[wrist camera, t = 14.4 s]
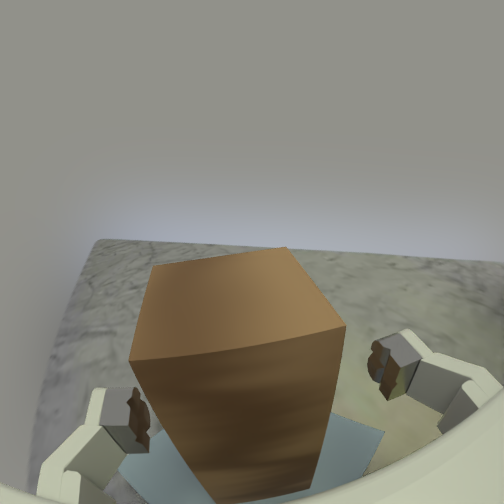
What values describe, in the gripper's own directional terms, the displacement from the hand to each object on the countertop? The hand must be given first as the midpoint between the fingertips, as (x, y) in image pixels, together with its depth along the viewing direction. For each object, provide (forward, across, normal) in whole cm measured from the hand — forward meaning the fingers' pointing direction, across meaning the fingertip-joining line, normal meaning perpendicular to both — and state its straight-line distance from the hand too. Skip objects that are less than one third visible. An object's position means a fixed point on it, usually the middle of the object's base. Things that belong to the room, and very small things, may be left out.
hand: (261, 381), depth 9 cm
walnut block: (+1, +1, +9) cm, 9 cm away
